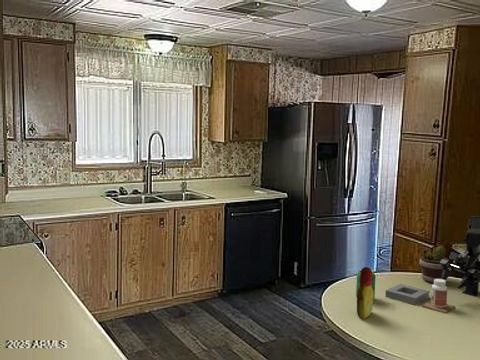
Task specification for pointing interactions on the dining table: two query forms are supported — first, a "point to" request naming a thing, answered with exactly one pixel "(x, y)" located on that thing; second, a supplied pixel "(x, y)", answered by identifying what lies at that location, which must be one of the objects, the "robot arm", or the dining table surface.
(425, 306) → the pad
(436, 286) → the pill bottle
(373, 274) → the beverage can
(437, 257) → the flowerpot
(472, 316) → the dining table surface
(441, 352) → the dining table surface
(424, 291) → the holder
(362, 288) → the bottle
